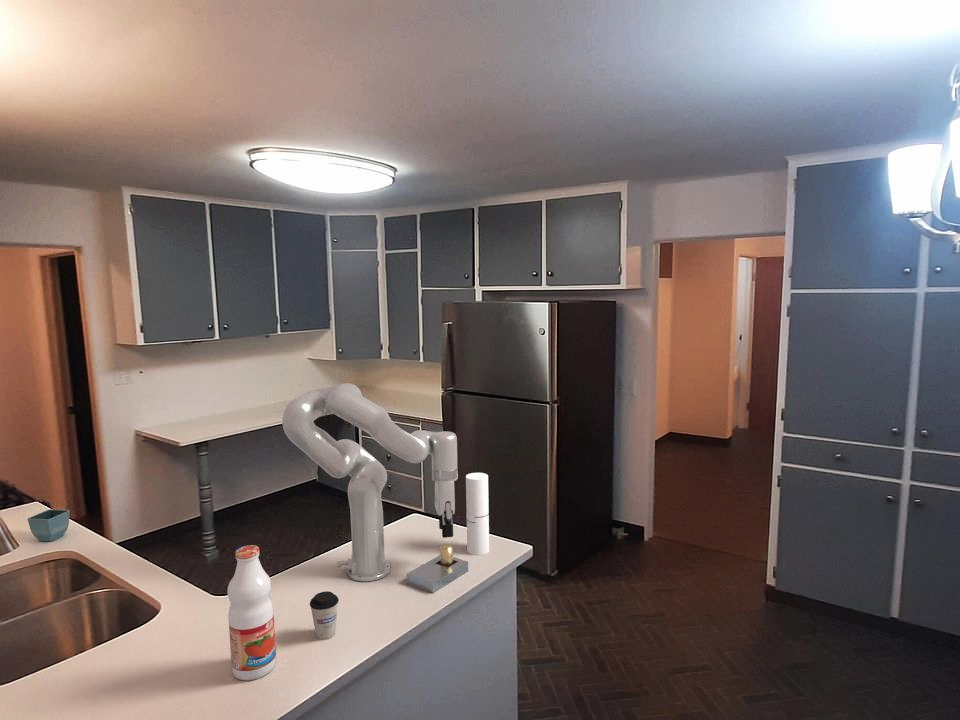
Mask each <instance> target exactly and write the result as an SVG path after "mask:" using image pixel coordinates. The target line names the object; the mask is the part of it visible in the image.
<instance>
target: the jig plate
mask: <svg viewBox="0 0 960 720" xmlns="http://www.w3.org/2000/svg"><path fill="white" fill-rule="evenodd" d="M468 572H469V562H468V561H467V560H463V559H461V558H458V557H454V556H453V565H452V566H450V567H448V568H447V567H444V566H441V563H440V554H439V555H438V556H435V557H434V558H432V559H430V560H429V561H426V562H425V563H424V564H421V565H419V566H418V567H416V568H415V569H412V570H411V571H409V572H407V573H406V583H407V585H408V584H409V585H410V586H413V587H415V588H418V589H421V590H423V591H426V592H429V593H431V594H435V593H437V592H438V591H440V590H441V589H443V588H444V587H446V586H447V585H449V584H450V583H451V584H452V582H454V581H455V580H457V579H458V578H460V577H462V576H463V575H465V574H466V573H468Z"/></svg>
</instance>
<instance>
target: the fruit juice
mask: <svg viewBox="0 0 960 720" xmlns="http://www.w3.org/2000/svg"><path fill="white" fill-rule="evenodd" d="M234 556H235V559H236V561H237V563H236V568H235V571H234V575H233V577H232V578H231V579H230V581H229V583H228V585H227V597H228V598H227V599H228V600H229V603H230V605H229V607H228V616H227V617H228V620H227V621H228V631H229V633H228V634H229V645H230V648H229V649H230V662H231V671H232V674H233V676H234V677H235V678H236V679H238V680H241V681H253V680H259V679H261V678H264V677H265V676H267V675H268V674H269V673H271V672H272V671H273V669H275V667H276V664H277V648H276V646H277V644H276V633H275V632H276V630H275V629H276V628H275V614H274V612H275V610H274V604H273V600H272V598H271V591H272V580H271V578H270V576H269V574H267V572H266V571H265V569H264V568H263V567H262V566H263V565H262V564H261V561H260V559H259V556H260V547H259V546H257V545H253V544H250V545H248V544H247V545H244V546H241V547H239V548H237V549H236V550H235V555H234Z"/></svg>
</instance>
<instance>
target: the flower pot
mask: <svg viewBox="0 0 960 720" xmlns="http://www.w3.org/2000/svg"><path fill="white" fill-rule="evenodd" d="M27 523H28V525H29V530H30V531H31V534H32V535H33V536H34V537H35V538H36V540H38V541H39V542H53V541H56V540H57V539H60V538H62V537H64V536H65V534H66V532H67V531H68V528H69V524H70V509H47V510H45V511H42V512H40V513H37V514H35V515H33V516H29V517H28V518H27Z"/></svg>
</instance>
